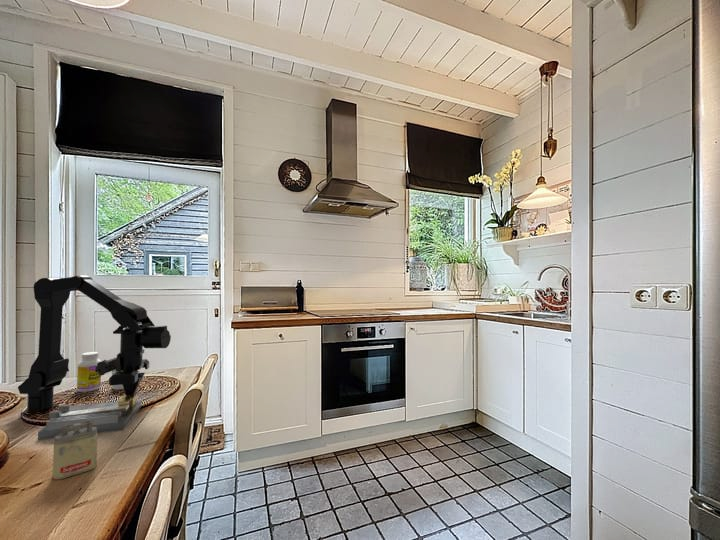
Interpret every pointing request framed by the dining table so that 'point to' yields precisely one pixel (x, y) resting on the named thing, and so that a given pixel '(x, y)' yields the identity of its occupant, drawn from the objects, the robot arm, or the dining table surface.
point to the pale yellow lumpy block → (127, 400)
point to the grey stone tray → (100, 421)
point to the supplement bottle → (88, 373)
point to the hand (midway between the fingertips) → (130, 399)
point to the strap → (95, 411)
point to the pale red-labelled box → (75, 450)
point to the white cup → (116, 385)
